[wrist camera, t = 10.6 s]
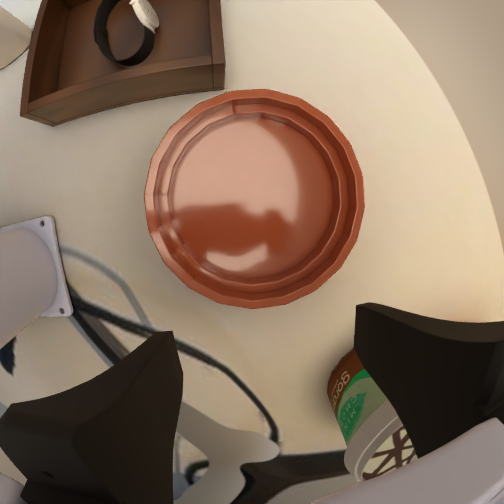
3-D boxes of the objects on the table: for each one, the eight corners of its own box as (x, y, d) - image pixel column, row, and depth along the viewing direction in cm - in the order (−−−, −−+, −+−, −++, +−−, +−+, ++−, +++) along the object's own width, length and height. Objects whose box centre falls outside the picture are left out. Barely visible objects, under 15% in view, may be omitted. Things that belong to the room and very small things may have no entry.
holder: (52, 127, 16) (19, 116, 12) (67, 8, 13) (46, -15, 9) (224, 89, 17) (225, 63, 13) (214, -28, 14) (215, -60, 10)
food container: (316, 332, 22) (370, 416, 12) (382, 319, 22) (454, 382, 13) (312, 432, 25) (341, 507, 15) (366, 417, 25) (406, 482, 15)
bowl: (171, 301, 20) (164, 319, 17) (148, 115, 17) (137, 103, 14) (347, 278, 21) (365, 291, 18) (335, 102, 18) (352, 91, 15)
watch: (171, 56, 16) (162, 32, 12) (110, 83, 16) (90, 65, 12) (148, -9, 14) (139, -34, 10) (94, 15, 14) (78, -6, 10)
